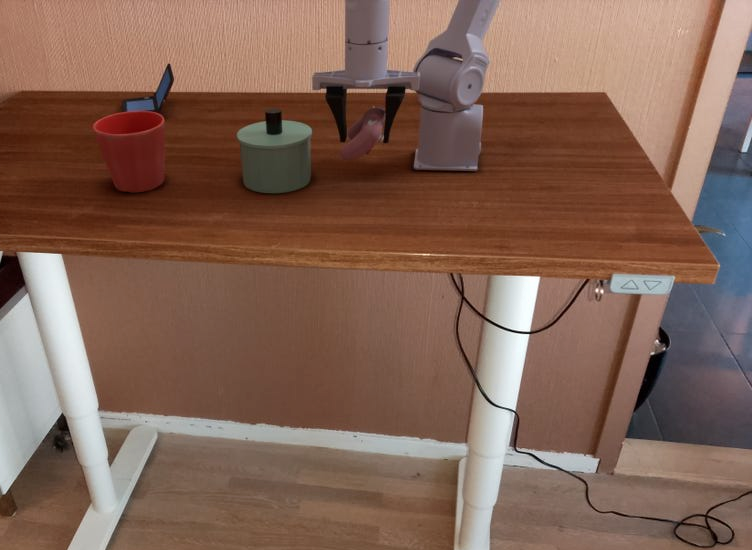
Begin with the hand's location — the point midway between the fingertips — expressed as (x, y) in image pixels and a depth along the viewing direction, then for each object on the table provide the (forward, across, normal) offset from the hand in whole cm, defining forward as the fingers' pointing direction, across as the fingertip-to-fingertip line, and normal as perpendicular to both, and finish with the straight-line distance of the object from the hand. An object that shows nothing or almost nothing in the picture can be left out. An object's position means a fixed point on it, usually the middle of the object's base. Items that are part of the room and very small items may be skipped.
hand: (364, 140), depth 104 cm
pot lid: (0, -14, +1) cm, 14 cm away
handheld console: (+7, -46, +34) cm, 58 cm away
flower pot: (+7, -35, -2) cm, 36 cm away
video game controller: (+2, 0, 0) cm, 2 cm away
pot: (+7, -14, +1) cm, 15 cm away
